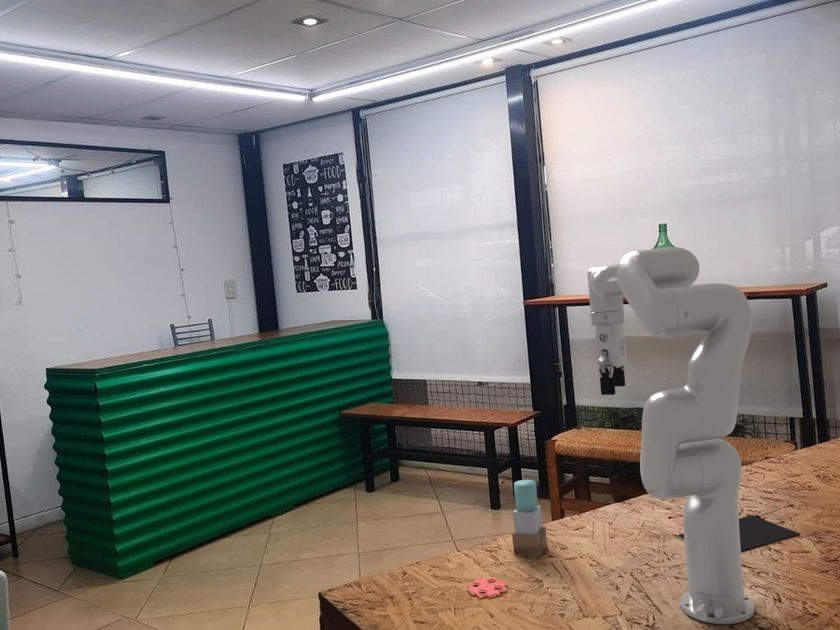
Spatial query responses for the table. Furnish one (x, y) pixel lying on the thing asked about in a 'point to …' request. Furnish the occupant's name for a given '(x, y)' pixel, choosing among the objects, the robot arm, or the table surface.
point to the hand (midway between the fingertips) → (613, 390)
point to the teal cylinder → (525, 496)
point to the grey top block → (527, 521)
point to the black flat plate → (758, 532)
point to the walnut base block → (530, 543)
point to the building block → (488, 586)
